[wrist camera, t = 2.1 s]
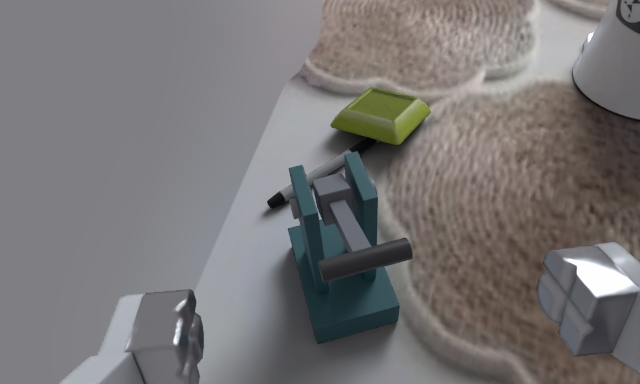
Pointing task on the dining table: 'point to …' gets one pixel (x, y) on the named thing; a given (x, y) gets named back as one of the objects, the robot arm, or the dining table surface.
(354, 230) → the lever
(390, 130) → the saucer
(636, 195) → the dining table surface
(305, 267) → the teal axle stand
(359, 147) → the pen
